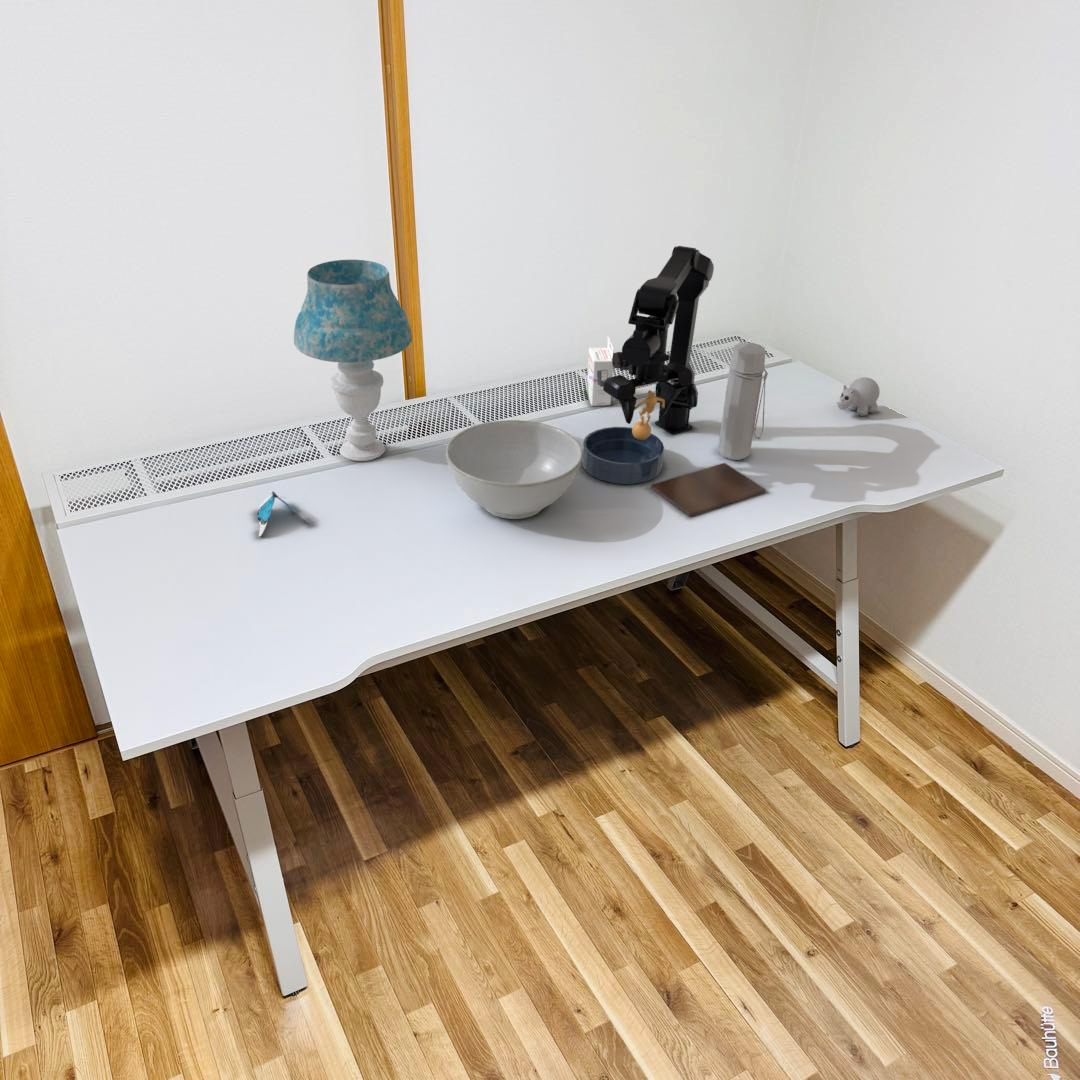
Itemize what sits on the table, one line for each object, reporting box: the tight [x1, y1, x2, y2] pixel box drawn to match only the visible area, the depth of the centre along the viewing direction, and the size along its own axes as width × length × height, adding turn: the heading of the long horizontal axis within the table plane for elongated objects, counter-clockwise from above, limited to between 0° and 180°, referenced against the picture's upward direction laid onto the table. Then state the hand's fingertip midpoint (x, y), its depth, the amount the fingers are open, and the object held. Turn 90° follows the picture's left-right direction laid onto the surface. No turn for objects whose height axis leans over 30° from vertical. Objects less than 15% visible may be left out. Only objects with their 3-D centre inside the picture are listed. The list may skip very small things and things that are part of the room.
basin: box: [581, 426, 665, 485], centre depth 212 cm, size 17×17×5 cm
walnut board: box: [650, 462, 766, 518], centre depth 205 cm, size 20×13×1 cm, turn 121°
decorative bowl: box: [445, 419, 583, 520], centre depth 196 cm, size 27×27×12 cm
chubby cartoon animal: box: [836, 376, 881, 417], centre depth 236 cm, size 7×12×8 cm, turn 120°
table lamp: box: [293, 259, 413, 462], centre depth 205 cm, size 24×24×40 cm
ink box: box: [586, 336, 615, 407], centre depth 238 cm, size 9×5×15 cm, turn 6°
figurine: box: [631, 390, 665, 440], centre depth 205 cm, size 8×6×12 cm
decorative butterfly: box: [257, 490, 309, 537], centre depth 191 cm, size 10×6×10 cm
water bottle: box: [717, 341, 769, 461], centre depth 212 cm, size 9×8×25 cm
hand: (645, 418), depth 205 cm, fingers closed on figurine, 8 cm apart
